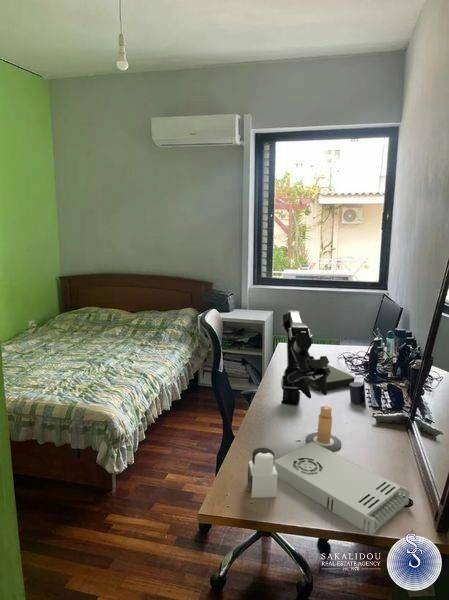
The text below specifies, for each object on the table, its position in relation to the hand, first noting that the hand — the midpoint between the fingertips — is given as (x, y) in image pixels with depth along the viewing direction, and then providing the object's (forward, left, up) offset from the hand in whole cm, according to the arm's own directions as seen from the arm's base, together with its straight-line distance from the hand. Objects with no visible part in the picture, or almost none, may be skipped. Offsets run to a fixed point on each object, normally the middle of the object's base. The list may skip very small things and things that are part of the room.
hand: (318, 396), depth 154 cm
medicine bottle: (-7, -43, -13) cm, 45 cm away
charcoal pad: (+4, -8, -13) cm, 16 cm away
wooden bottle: (+4, -8, -12) cm, 15 cm away
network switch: (-7, +51, -14) cm, 53 cm away
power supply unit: (+13, -33, -14) cm, 38 cm away
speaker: (+11, +32, -13) cm, 36 cm away
